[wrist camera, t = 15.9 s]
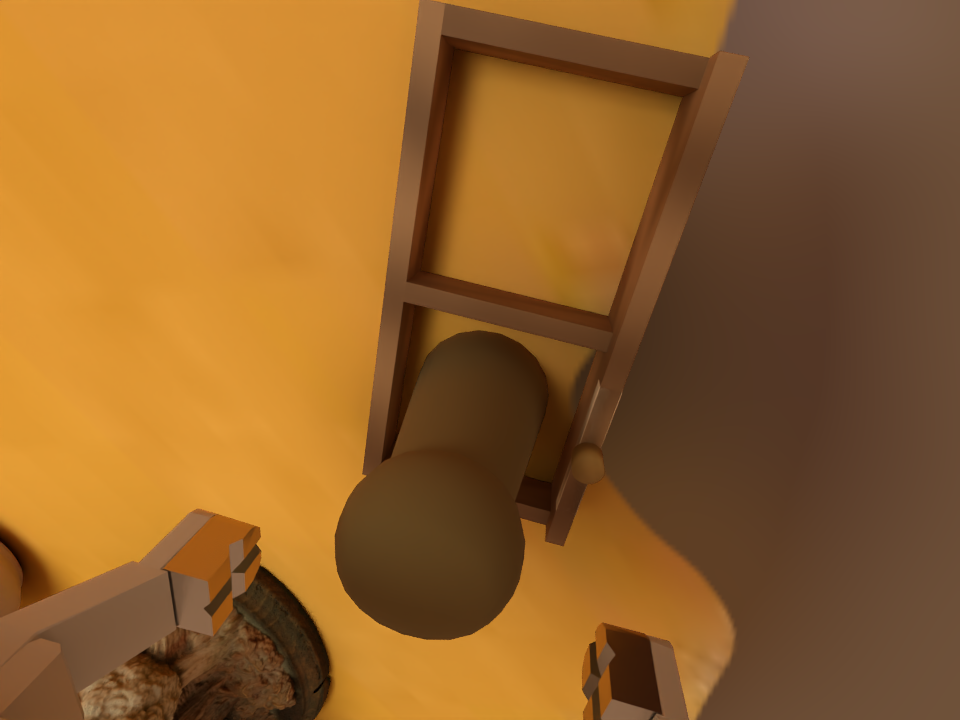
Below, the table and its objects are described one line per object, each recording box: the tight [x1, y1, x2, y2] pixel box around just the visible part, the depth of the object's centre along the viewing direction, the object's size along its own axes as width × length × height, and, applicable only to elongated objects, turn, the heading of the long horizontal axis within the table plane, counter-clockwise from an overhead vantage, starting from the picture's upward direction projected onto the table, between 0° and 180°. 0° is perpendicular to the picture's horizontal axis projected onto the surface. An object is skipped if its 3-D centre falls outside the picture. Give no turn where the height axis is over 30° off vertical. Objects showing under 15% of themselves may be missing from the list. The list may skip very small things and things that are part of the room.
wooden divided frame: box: [363, 0, 749, 546], centre depth 18 cm, size 18×10×4 cm, turn 168°
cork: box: [335, 331, 549, 640], centre depth 16 cm, size 6×6×11 cm
